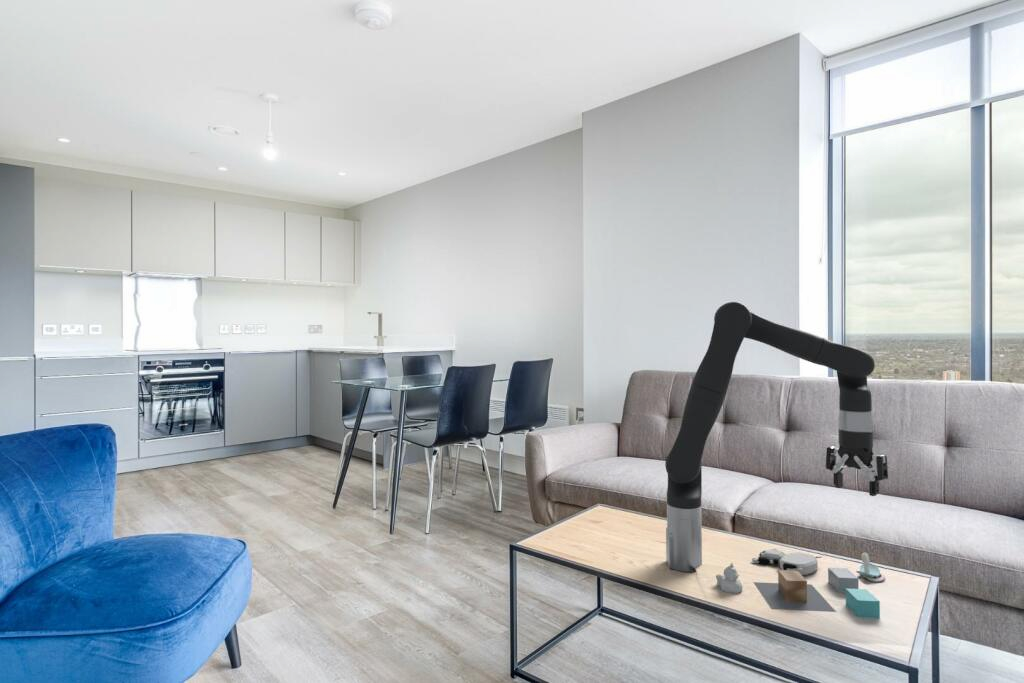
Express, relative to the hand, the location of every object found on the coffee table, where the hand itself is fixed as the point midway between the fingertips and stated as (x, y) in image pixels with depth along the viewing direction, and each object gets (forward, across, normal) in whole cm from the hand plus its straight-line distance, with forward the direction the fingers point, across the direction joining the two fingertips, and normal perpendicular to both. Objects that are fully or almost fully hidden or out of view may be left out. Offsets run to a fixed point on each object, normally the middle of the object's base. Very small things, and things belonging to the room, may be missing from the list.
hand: (855, 491), depth 144 cm
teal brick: (+24, +10, -15) cm, 30 cm away
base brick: (+23, -3, -22) cm, 32 cm away
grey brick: (+24, +1, -7) cm, 25 cm away
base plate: (+24, -3, -22) cm, 33 cm away
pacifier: (+24, -1, +8) cm, 26 cm away
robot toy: (+24, -15, -6) cm, 29 cm away
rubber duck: (+24, -14, -31) cm, 42 cm away
